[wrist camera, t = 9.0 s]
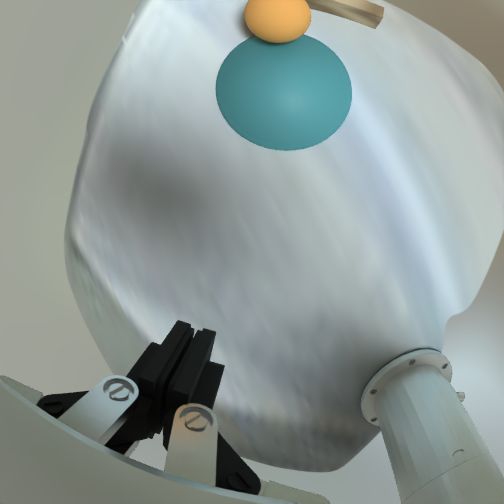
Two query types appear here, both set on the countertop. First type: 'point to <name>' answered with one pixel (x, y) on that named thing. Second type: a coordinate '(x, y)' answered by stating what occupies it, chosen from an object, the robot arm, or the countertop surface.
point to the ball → (277, 19)
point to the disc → (284, 92)
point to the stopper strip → (351, 10)
